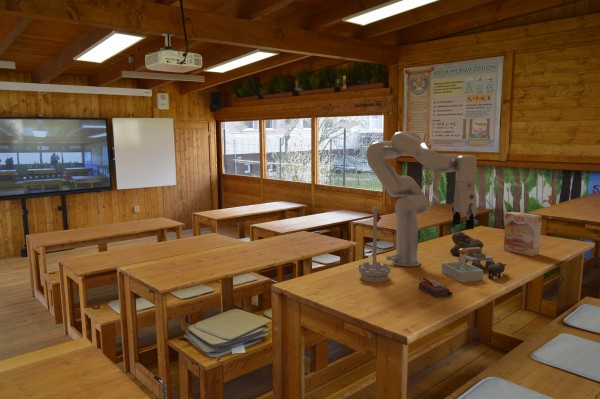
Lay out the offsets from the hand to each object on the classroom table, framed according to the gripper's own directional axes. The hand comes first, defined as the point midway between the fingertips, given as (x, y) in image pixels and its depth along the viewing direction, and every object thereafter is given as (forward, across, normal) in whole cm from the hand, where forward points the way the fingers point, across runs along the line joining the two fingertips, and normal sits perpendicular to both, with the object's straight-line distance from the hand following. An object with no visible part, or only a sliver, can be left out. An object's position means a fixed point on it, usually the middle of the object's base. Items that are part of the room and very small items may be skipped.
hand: (462, 226), depth 194 cm
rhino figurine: (+21, -4, -15) cm, 26 cm away
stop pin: (+20, -1, 0) cm, 20 cm away
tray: (+21, -1, 0) cm, 21 cm away
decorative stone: (+22, +31, -23) cm, 44 cm away
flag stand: (+22, +6, +36) cm, 42 cm away
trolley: (+21, +10, -14) cm, 27 cm away
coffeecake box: (+21, +27, -50) cm, 61 cm away
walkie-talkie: (+22, -12, +20) cm, 32 cm away
